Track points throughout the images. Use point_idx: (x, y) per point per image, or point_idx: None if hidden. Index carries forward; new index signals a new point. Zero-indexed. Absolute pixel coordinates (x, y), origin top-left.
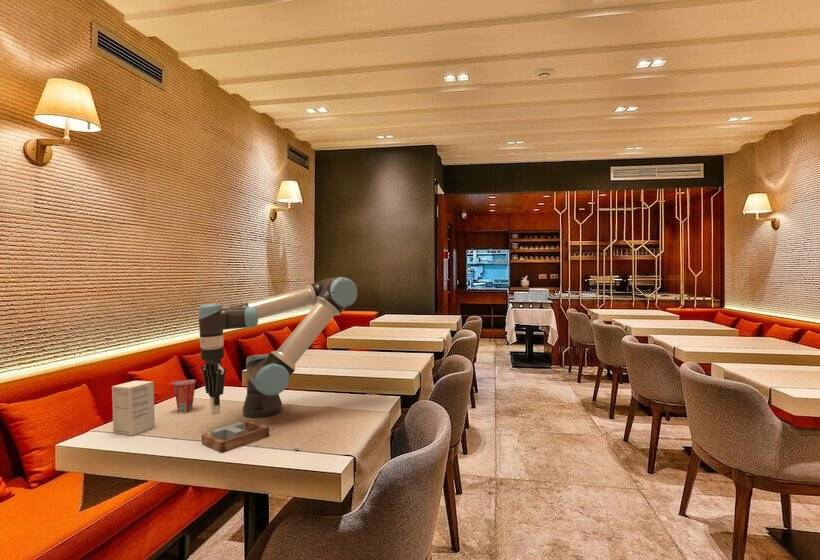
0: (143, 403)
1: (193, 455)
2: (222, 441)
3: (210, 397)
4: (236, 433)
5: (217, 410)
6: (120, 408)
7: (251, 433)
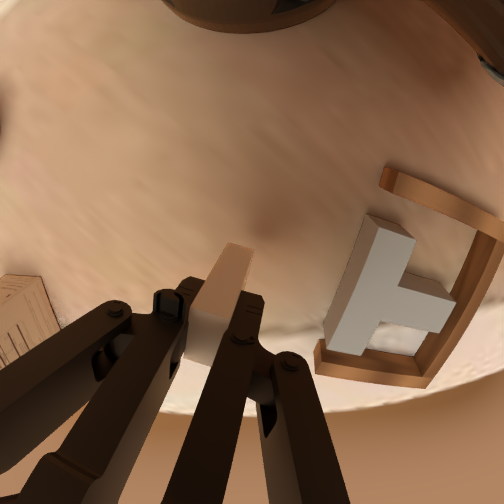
0: (1, 356)
1: (351, 400)
2: (424, 382)
3: (194, 356)
4: (439, 327)
5: (246, 276)
6: None
7: (481, 298)
